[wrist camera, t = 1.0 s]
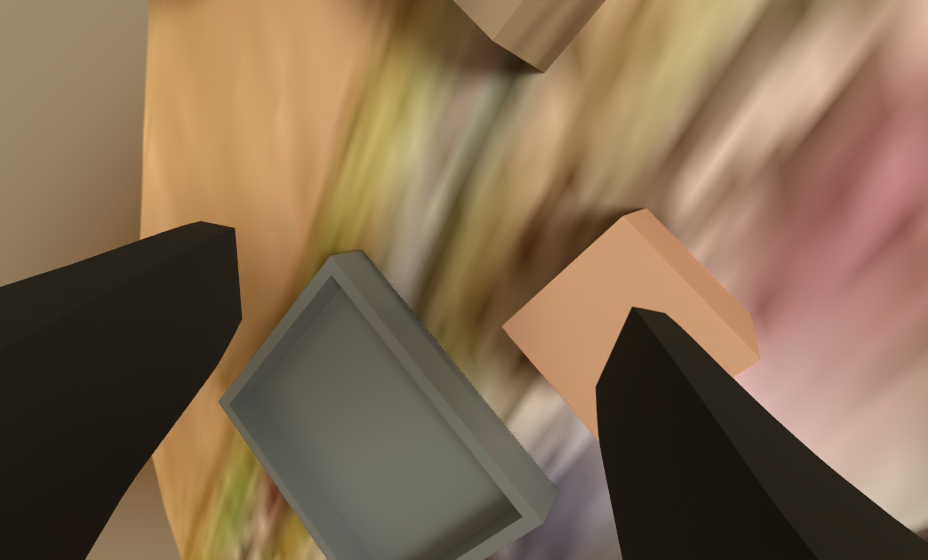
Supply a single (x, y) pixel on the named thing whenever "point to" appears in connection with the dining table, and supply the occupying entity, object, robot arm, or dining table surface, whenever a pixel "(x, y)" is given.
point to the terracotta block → (626, 309)
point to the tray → (381, 430)
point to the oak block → (531, 25)
